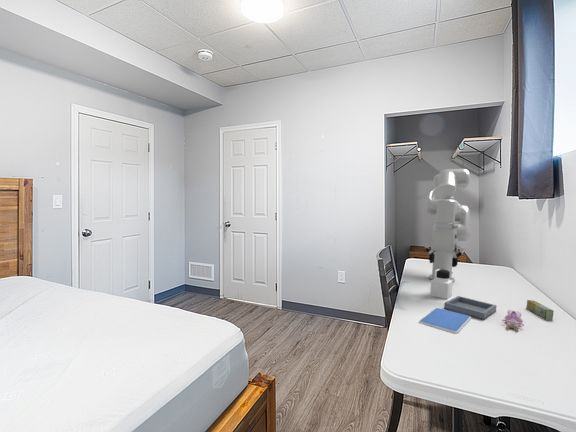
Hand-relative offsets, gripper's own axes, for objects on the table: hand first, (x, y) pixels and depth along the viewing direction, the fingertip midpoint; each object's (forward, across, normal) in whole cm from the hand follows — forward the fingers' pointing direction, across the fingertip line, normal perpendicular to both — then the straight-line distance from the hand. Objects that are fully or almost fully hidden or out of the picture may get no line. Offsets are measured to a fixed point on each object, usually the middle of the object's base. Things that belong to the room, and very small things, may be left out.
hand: (442, 264), depth 135 cm
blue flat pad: (+16, -13, +27) cm, 34 cm away
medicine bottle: (+15, 0, -1) cm, 15 cm away
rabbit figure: (+16, -29, +10) cm, 35 cm away
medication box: (+15, -33, -10) cm, 38 cm away
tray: (+15, -15, +8) cm, 22 cm away
